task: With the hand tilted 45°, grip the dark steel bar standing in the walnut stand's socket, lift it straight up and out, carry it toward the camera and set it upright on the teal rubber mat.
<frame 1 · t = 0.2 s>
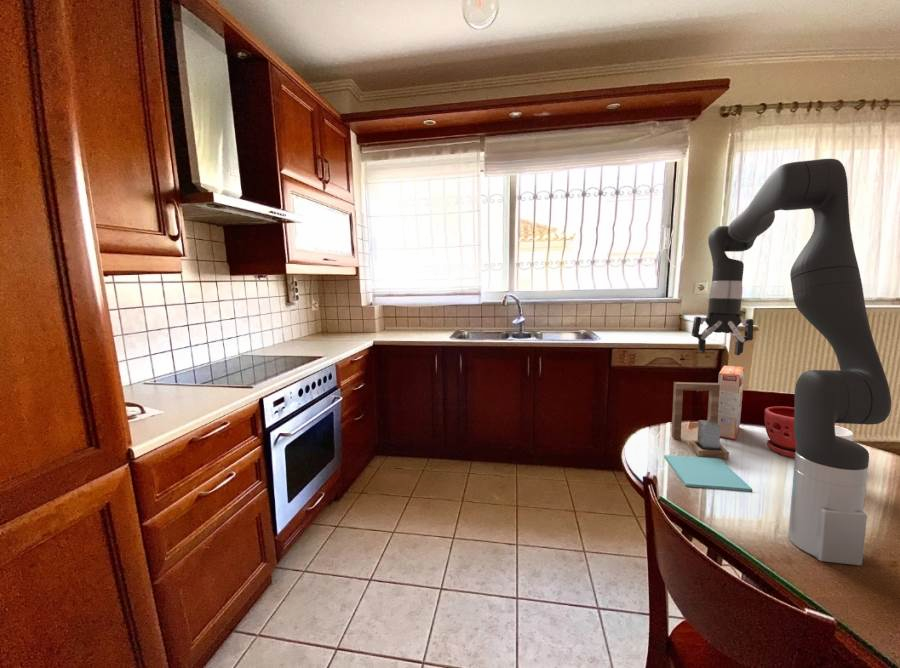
hand: (719, 353, 109), 28 cm above the table, tool pointing down, fingers open, 8 cm apart
walnut stand: (707, 452, 109), on the table
plant pot: (791, 452, 108), on the table
cracker box: (727, 432, 124), on the table
steel bar: (707, 452, 109), resting in walnut stand
foam cup: (819, 479, 93), on the table
teal mat: (703, 472, 98), on the table
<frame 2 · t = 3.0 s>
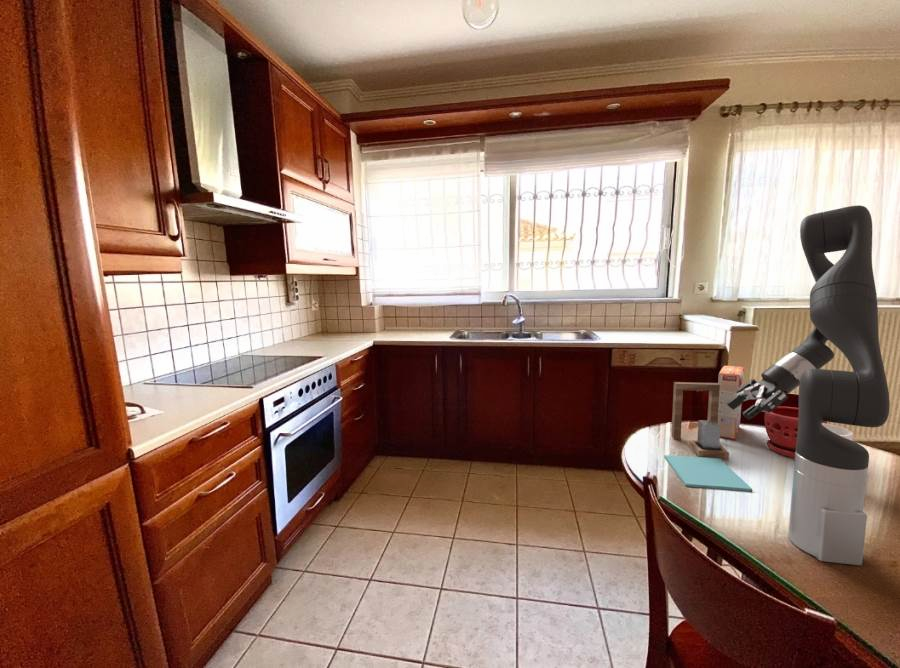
hand: (737, 411, 106), 13 cm above the table, tool tilted 45°, fingers open, 8 cm apart
nothing on the table moved.
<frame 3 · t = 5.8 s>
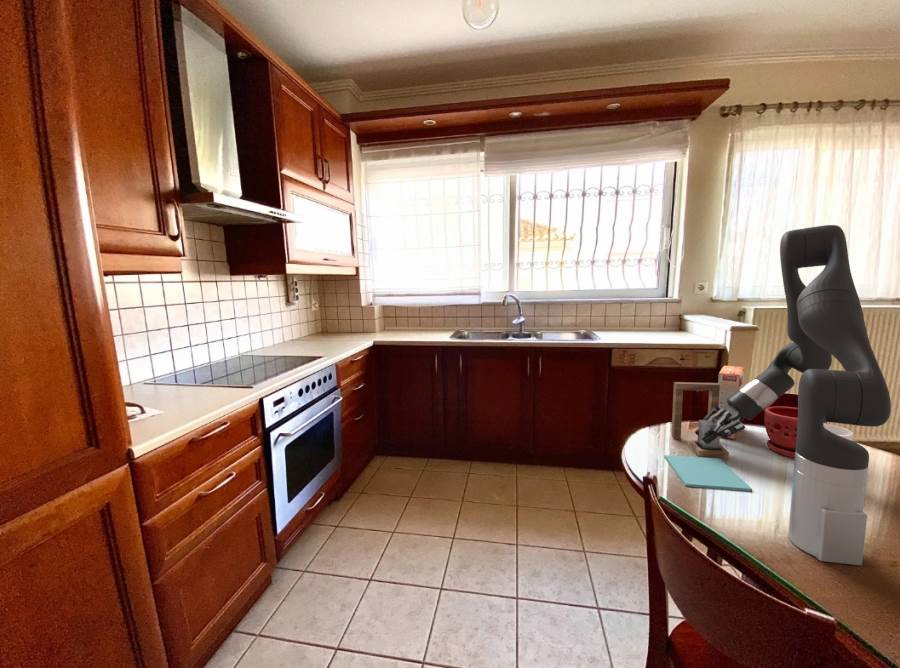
hand: (700, 438, 109), 4 cm above the table, tool tilted 45°, fingers closed on steel bar, 4 cm apart
steel bar: (707, 452, 109), resting in walnut stand, touching gripper
everything else where it was.
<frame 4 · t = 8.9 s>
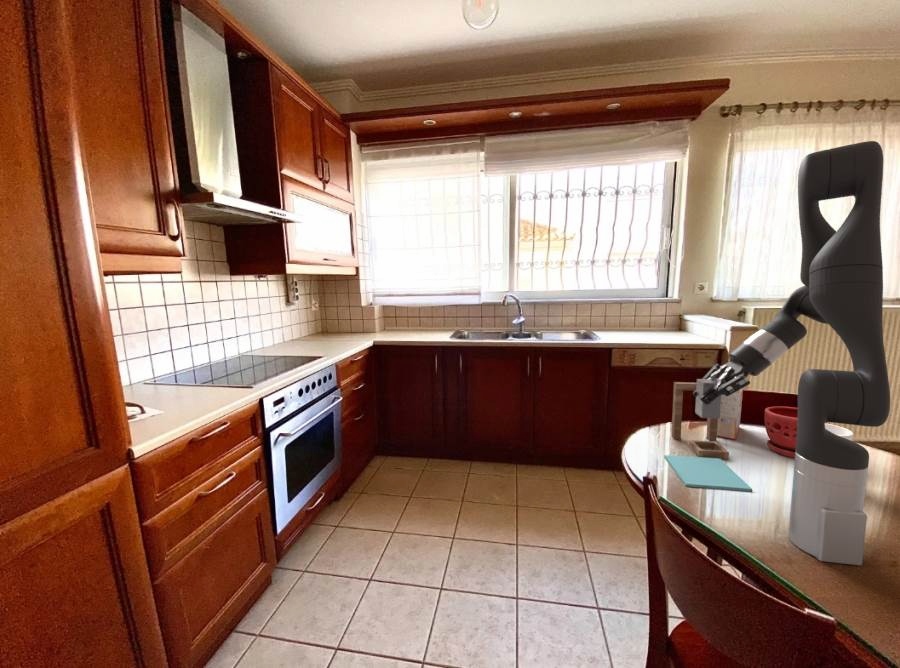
hand: (699, 399, 96), 20 cm above the table, tool tilted 45°, fingers closed on steel bar, 4 cm apart
steel bar: (707, 415, 96), point 15 cm above the table, touching gripper
everything else where it was.
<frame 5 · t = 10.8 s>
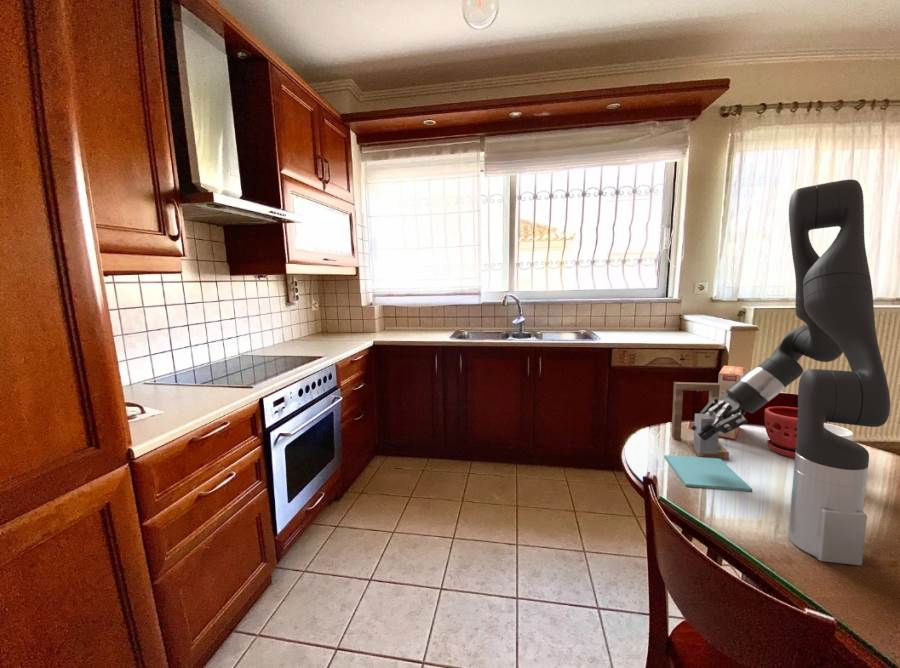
hand: (697, 433, 97), 10 cm above the table, tool tilted 45°, fingers closed on steel bar, 4 cm apart
steel bar: (705, 449, 97), point 6 cm above the table, touching gripper
everything else where it was.
when the fingers open (6 cm above the table, at t = 12.2 s): steel bar drops 2 cm, resting on teal mat.
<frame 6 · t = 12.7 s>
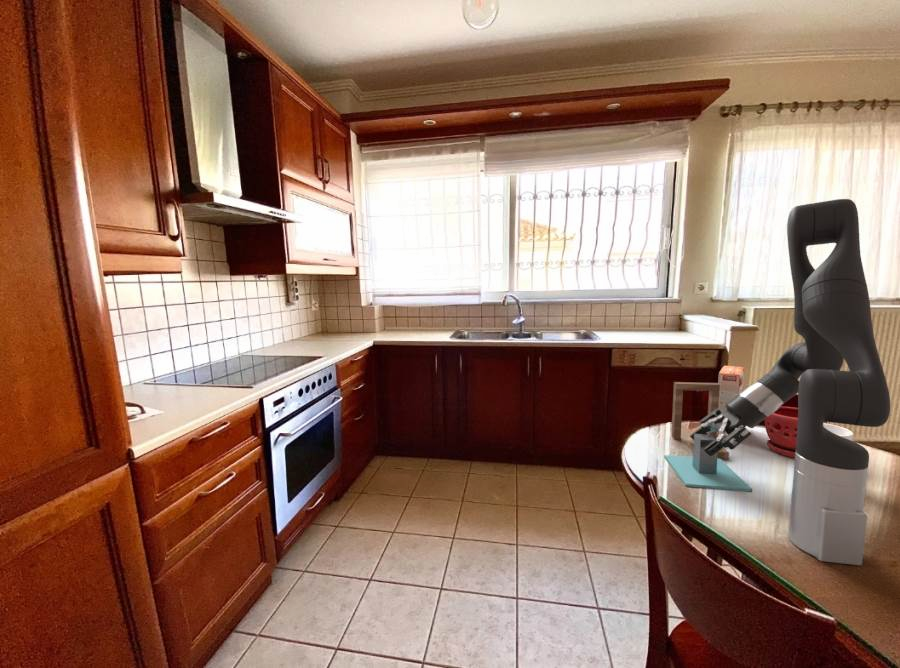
hand: (699, 445, 97), 7 cm above the table, tool tilted 45°, fingers open, 8 cm apart
steel bar: (704, 470, 98), point 1 cm above the table, touching teal mat
everything else where it was.
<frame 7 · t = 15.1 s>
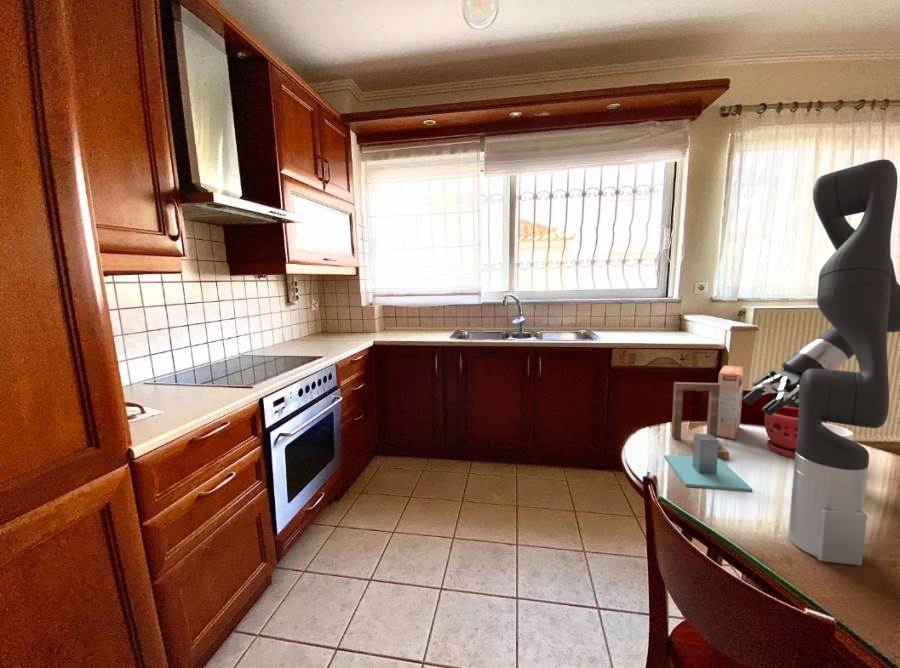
hand: (755, 407, 93), 18 cm above the table, tool tilted 45°, fingers open, 8 cm apart
nothing on the table moved.
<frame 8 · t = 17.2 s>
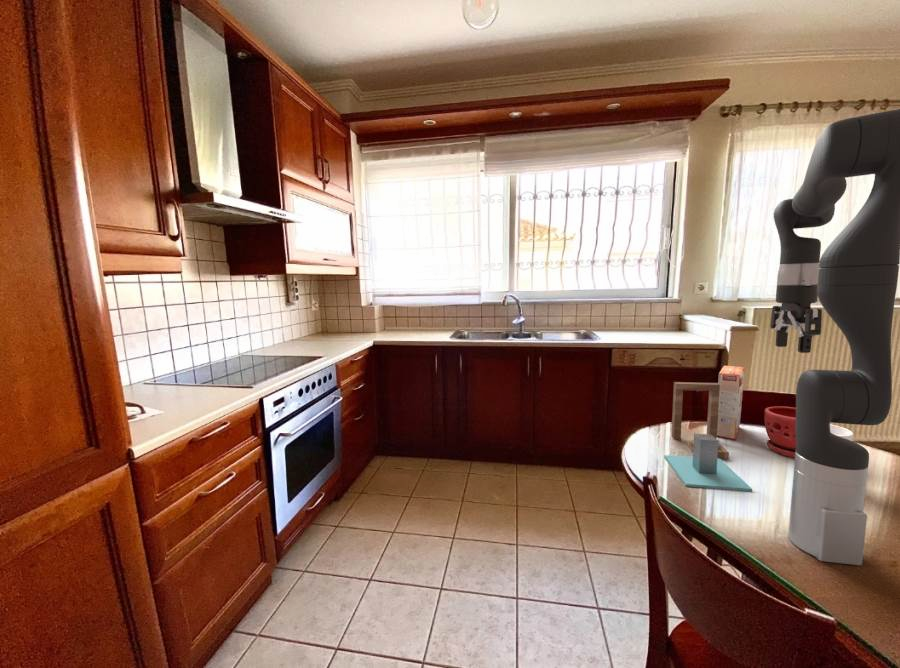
hand: (792, 349, 93), 32 cm above the table, tool pointing down, fingers open, 8 cm apart
nothing on the table moved.
at the end: steel bar inside the target area (0.1 cm from its centre), point 0.6 cm above the table; steel bar tilted 0°; the gripper is holding nothing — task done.
